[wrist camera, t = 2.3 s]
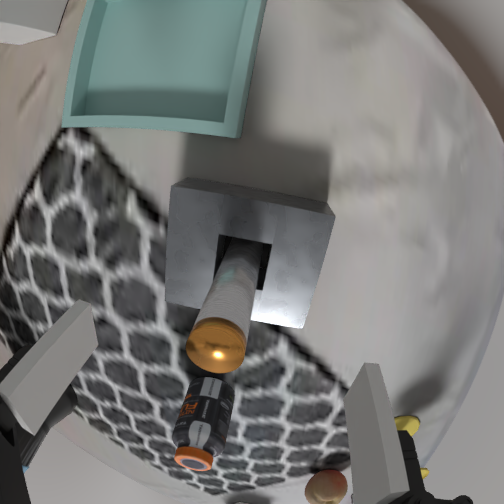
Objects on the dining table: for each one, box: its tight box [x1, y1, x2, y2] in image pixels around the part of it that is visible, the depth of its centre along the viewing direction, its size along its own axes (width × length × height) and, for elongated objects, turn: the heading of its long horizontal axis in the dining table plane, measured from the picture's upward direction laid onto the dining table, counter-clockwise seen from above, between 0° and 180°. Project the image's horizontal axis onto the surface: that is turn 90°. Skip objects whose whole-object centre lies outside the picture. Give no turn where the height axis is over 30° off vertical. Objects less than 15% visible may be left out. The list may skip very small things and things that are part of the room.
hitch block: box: [165, 178, 336, 329], centre depth 24 cm, size 12×10×4 cm
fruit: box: [305, 469, 348, 504], centre depth 39 cm, size 8×8×8 cm
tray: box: [62, 0, 267, 138], centre depth 18 cm, size 16×14×3 cm
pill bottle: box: [172, 377, 235, 471], centre depth 29 cm, size 6×6×11 cm
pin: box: [186, 237, 263, 373], centre depth 20 cm, size 3×3×14 cm
